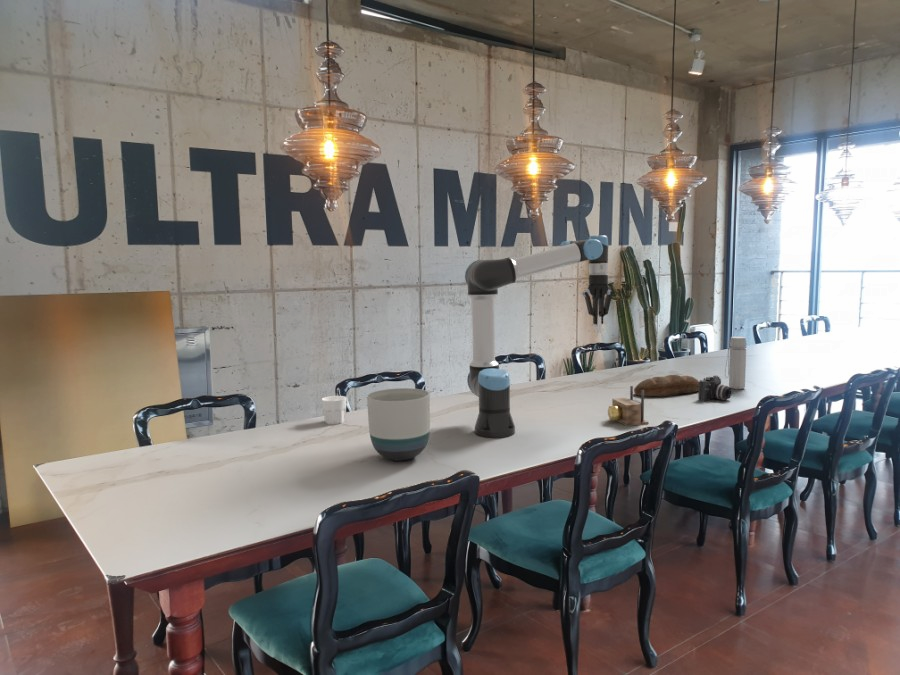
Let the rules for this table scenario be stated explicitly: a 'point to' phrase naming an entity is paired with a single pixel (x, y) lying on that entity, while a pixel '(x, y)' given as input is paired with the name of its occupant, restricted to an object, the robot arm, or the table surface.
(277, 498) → the table surface
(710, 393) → the camera
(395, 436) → the planter
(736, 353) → the water bottle
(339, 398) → the cup
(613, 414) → the pin
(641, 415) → the block
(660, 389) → the bread
